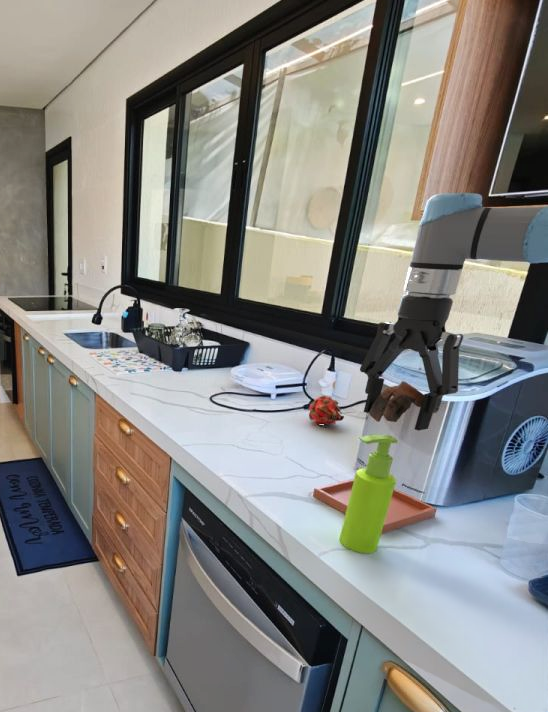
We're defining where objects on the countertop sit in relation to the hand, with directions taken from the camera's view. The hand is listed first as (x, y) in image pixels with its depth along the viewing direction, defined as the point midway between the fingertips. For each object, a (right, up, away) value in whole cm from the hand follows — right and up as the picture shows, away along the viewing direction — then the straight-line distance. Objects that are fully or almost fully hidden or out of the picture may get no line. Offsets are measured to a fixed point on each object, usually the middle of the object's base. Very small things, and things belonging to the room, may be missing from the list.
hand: (394, 419), depth 93 cm
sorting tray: (-1, -17, +7) cm, 18 cm away
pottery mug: (0, -1, 0) cm, 1 cm away
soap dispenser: (-10, -22, -6) cm, 25 cm away
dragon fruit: (+10, +1, +52) cm, 53 cm away
